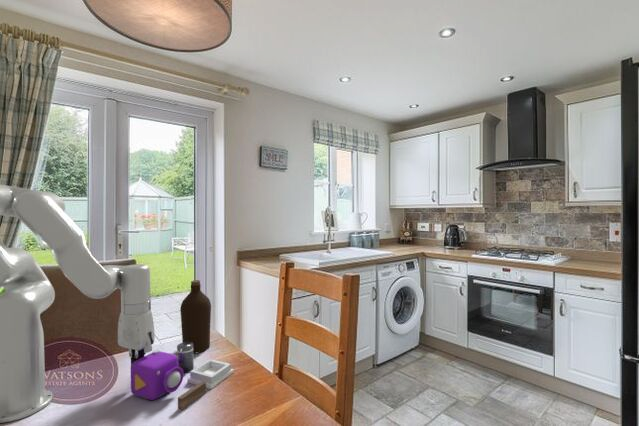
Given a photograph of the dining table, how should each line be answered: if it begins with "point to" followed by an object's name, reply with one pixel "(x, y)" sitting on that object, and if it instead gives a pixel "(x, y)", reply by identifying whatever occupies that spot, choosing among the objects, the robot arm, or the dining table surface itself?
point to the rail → (191, 395)
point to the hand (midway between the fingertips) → (137, 369)
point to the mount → (210, 373)
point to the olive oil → (196, 318)
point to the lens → (185, 356)
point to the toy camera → (155, 375)
